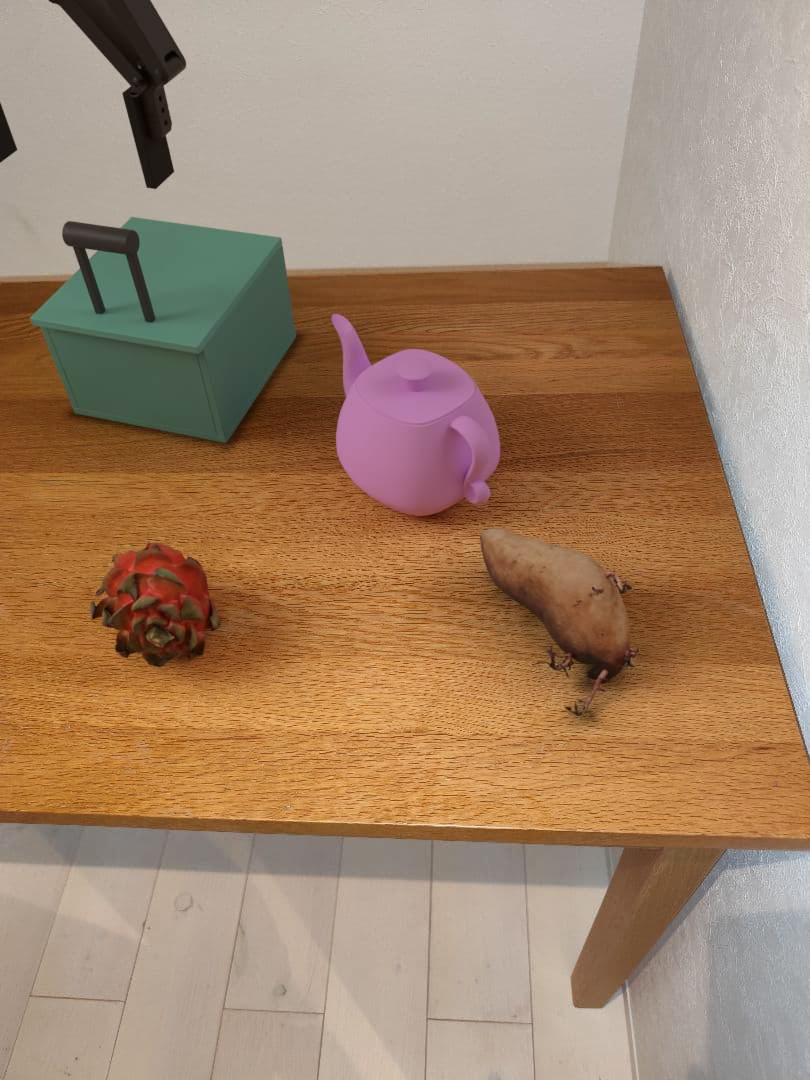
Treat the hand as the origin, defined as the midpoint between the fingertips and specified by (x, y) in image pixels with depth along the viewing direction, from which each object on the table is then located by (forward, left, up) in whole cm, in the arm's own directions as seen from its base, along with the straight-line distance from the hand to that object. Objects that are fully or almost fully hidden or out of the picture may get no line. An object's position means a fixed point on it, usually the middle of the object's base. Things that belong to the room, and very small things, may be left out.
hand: (80, 168), depth 66 cm
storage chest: (-2, +9, -26) cm, 28 cm away
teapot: (+24, +2, -26) cm, 36 cm away
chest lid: (-2, +9, -15) cm, 18 cm away
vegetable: (+39, -13, -26) cm, 49 cm away
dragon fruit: (+11, -21, -26) cm, 35 cm away
